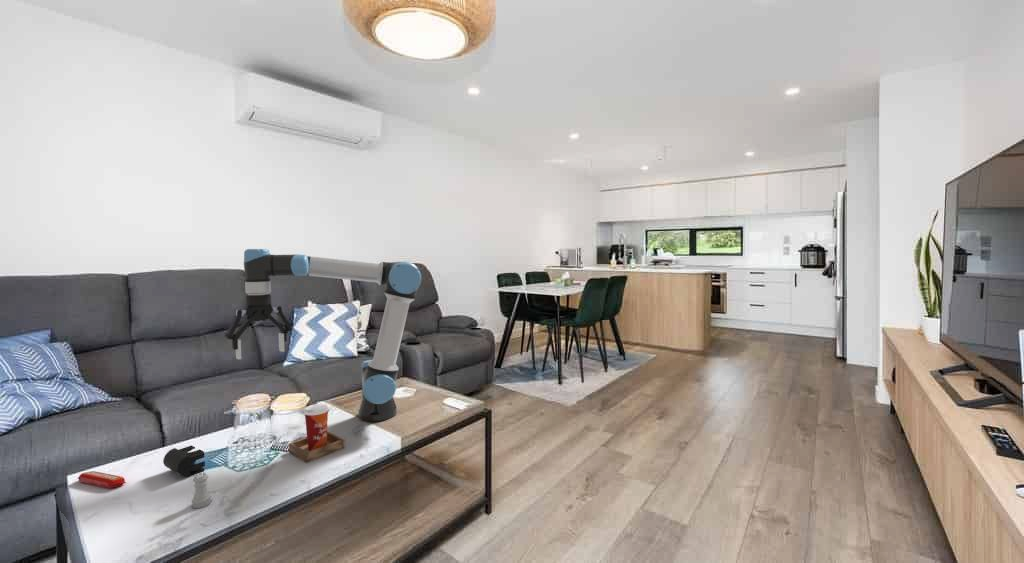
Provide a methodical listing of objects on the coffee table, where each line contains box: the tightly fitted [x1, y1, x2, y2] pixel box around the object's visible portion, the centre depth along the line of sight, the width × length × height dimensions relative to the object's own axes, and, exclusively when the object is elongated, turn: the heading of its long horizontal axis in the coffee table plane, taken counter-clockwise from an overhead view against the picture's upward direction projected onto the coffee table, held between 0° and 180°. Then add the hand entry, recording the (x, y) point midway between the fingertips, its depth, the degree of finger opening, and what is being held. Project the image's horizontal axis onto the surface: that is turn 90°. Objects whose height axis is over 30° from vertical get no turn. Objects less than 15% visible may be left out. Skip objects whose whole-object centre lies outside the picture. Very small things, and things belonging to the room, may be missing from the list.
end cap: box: [162, 445, 206, 478], centre depth 127 cm, size 10×7×7 cm
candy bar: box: [77, 470, 127, 489], centre depth 121 cm, size 16×4×3 cm, turn 74°
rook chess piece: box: [190, 472, 213, 509], centre depth 110 cm, size 4×4×8 cm
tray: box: [288, 430, 345, 464], centre depth 140 cm, size 13×12×3 cm
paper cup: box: [303, 403, 330, 451], centre depth 140 cm, size 8×8×14 cm
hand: (261, 355), depth 143 cm, fingers open, 13 cm apart
